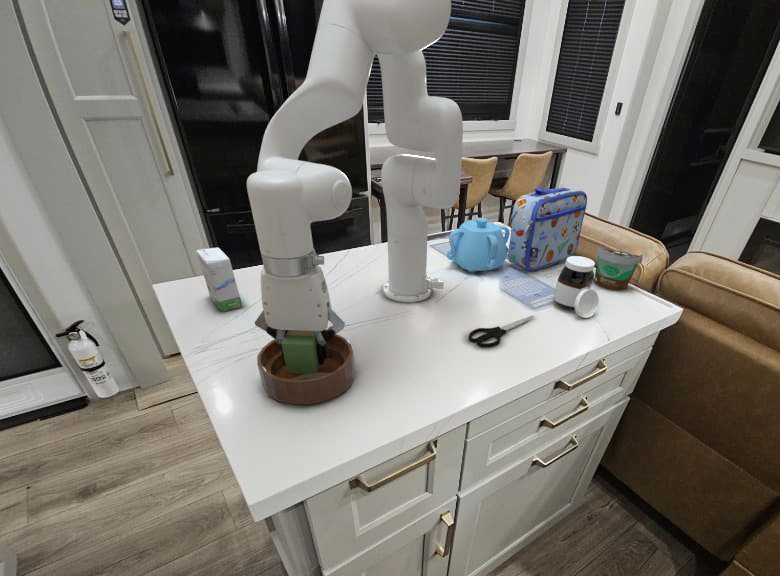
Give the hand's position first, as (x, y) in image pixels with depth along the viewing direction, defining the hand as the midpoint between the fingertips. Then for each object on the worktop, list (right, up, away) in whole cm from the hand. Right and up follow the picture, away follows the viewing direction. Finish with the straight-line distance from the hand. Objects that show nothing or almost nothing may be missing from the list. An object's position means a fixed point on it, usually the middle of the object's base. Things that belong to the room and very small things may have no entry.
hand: (306, 358), depth 74 cm
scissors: (+38, +8, +21) cm, 44 cm away
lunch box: (+54, +33, +56) cm, 85 cm away
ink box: (-27, +15, +24) cm, 39 cm away
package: (0, -1, 0) cm, 1 cm away
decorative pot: (+34, +31, +51) cm, 69 cm away
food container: (+71, +23, +44) cm, 87 cm away
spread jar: (+58, +15, +32) cm, 68 cm away
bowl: (0, -3, +3) cm, 4 cm away
